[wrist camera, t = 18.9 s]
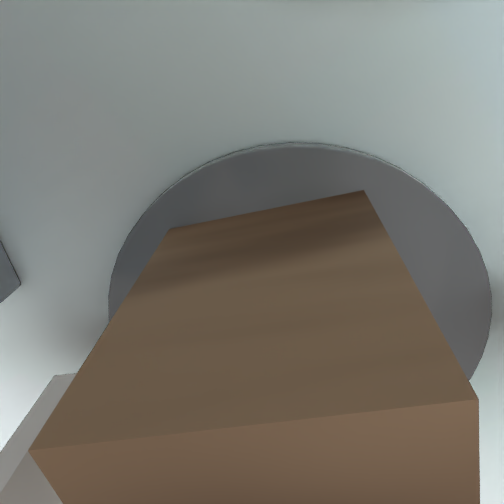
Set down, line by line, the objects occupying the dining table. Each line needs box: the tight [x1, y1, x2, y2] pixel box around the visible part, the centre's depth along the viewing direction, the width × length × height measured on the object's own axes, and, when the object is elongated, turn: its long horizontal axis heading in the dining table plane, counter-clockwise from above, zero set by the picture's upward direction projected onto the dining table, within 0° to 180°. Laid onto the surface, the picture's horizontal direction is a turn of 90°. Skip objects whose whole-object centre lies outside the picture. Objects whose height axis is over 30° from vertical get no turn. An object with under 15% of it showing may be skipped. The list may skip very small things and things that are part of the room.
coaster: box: [109, 142, 492, 381], centre depth 15 cm, size 13×13×1 cm
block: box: [28, 190, 480, 504], centre depth 10 cm, size 6×6×8 cm
